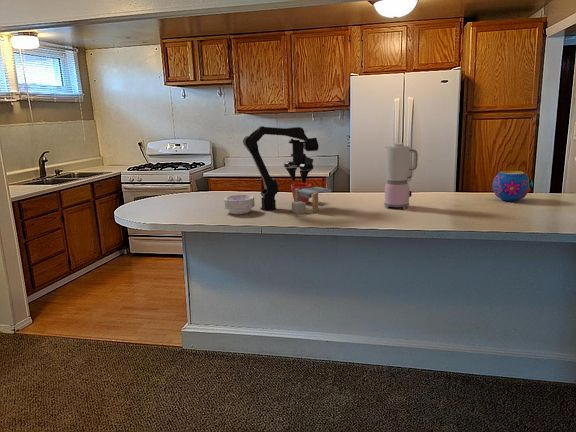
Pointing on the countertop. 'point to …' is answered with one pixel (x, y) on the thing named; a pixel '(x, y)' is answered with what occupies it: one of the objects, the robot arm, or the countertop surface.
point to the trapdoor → (312, 191)
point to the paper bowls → (239, 203)
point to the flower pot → (300, 186)
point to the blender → (398, 175)
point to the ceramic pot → (511, 185)
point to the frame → (314, 201)
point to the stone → (298, 207)
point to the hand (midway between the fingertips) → (298, 182)
